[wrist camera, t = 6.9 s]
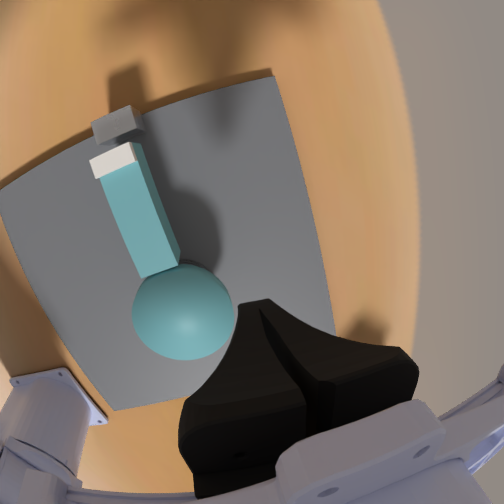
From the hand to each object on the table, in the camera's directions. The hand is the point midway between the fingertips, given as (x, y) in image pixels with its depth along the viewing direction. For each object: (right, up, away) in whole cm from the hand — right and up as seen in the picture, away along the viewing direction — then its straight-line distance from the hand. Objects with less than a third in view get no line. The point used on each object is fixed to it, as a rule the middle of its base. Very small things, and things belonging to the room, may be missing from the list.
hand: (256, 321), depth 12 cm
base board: (-6, +1, +9) cm, 11 cm away
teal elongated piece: (-6, +3, +5) cm, 8 cm away
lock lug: (-8, +11, +5) cm, 14 cm away
